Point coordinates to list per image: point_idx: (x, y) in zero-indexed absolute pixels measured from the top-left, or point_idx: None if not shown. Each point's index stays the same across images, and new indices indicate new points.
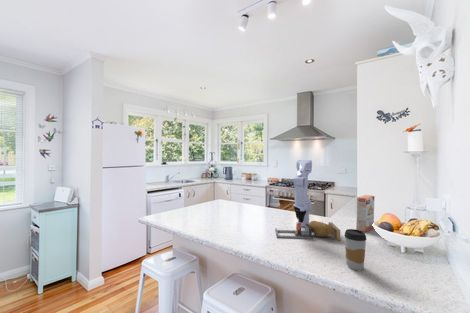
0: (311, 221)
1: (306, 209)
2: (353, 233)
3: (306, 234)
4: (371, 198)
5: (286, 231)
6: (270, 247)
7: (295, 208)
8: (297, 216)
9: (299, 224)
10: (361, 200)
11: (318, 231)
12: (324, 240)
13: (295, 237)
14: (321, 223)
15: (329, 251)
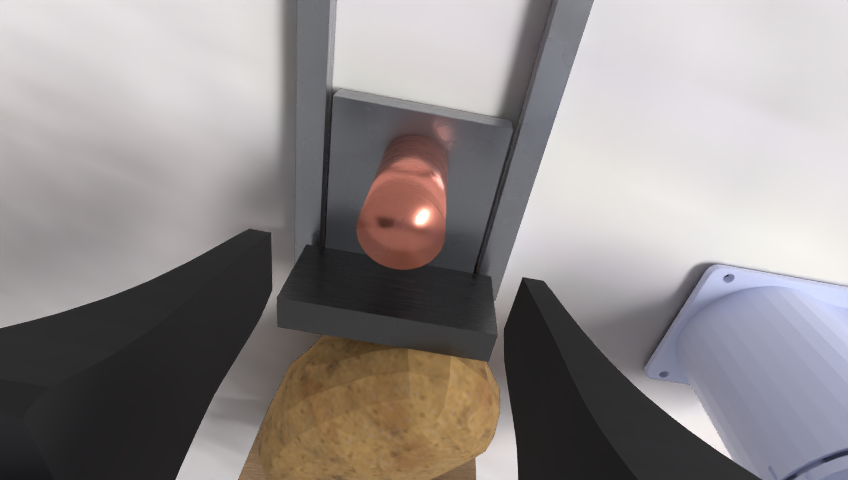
0: (442, 419)
1: None
2: None
3: (344, 233)
4: None
5: (552, 9)
6: None
7: (599, 478)
8: (525, 317)
9: (358, 227)
10: None
11: (294, 361)
12: (270, 331)
13: (299, 69)
14: (329, 471)
15: (19, 266)
